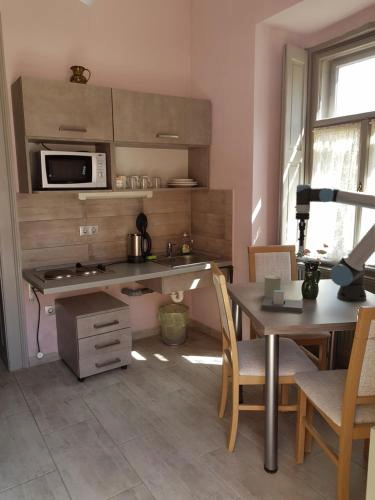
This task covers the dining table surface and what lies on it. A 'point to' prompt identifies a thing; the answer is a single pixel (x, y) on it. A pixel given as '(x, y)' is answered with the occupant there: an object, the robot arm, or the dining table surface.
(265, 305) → the socket
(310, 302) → the dining table surface
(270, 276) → the can
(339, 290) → the robot arm
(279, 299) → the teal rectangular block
